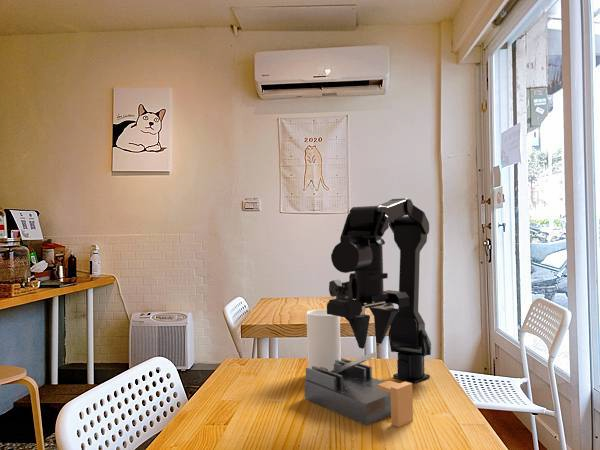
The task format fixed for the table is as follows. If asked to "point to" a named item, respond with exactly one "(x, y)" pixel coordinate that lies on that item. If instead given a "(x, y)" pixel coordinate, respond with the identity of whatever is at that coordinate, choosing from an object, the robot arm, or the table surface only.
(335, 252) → the robot arm
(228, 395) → the table surface
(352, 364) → the strap
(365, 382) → the slotted grey stand
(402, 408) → the tan piece
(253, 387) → the table surface
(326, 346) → the cup
